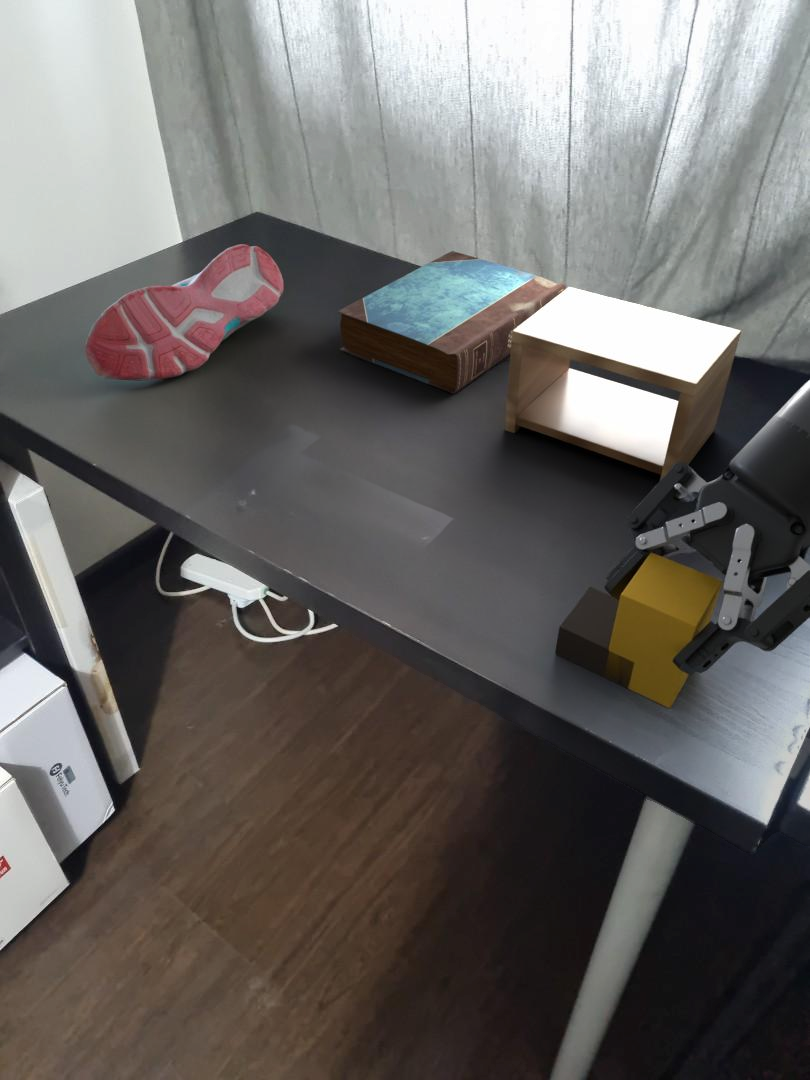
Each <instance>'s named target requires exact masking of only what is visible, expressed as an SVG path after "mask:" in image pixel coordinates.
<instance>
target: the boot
mask: <svg viewBox="0 0 810 1080" xmlns="http://www.w3.org/2000/svg"><path fill="white" fill-rule="evenodd" d="M723 582H724V581H723V579H719V578H717V577H714V576H712V575H709V574H706V573H705V572H702V571H699V570H697V569H694V568H692V567H689V566H687V565H684V564H682V563H679V562H677V561H673V560H672V559H669V558H668V557H667V558H664V557H662V556H659V555H656V554H654V553H650V555H649V556H648V557H647V559H646V560H645V562H644V563H643V564H642V566H641V567H640V569H639V570H638V571H637V573H636V574H635V576H634V577H633V578H632V580H631V581H630V583H629V584H628V585H627V587H626V588H625V590H624V591H623V592H622V594H621V596H620V601H619V600H618V599H616V598H614V597H613V596H611V595H610V594H609V593H606V592H604V591H602V590H599V589H597V588H594V587H592V586H589V587H588V588H587V590H586V591H585V592H584V594H583V595H582V596H581V598H580V599H579V600H578V602H577V603H576V604H575V605H574V607H573V608H572V609H571V611H570V612H569V613H568V615H567V616H566V618H565V619H564V620H563V621H562V623H561V624H560V625H559V627H558V633H557V640H556V647H555V651H554V654H555V655H557V656H559V657H561V658H563V659H565V660H567V661H569V662H571V663H573V664H576V665H578V666H580V667H581V668H584V669H586V670H588V671H590V672H592V673H594V674H597V675H599V676H601V677H603V678H604V679H606V680H609V681H611V682H613V683H615V684H618V685H619V686H622V687H624V688H625V689H627V690H630V691H632V692H634V693H635V694H636V693H637V694H638V695H641V696H643V697H645V698H647V699H648V700H651V701H653V702H655V703H657V704H660V705H662V706H664V707H666V708H668V709H671V708H672V706H673V705H674V703H675V701H676V699H677V698H678V696H679V694H680V693H681V690H682V689H683V687H684V685H685V683H686V682H687V680H688V678H689V676H690V674H687V673H685V672H683V671H681V670H680V669H679V668H678V667H677V666H676V665H675V664H674V663H673V659H674V657H675V656H676V655H677V654H678V653H679V652H680V651H681V650H682V649H683V648H684V647H685V646H686V645H687V644H688V643H689V642H690V641H692V639H693V638H694V637H695V636H696V635H697V634H698V633H699V632H700V631H701V630H702V629H703V628H704V627H705V626H706V625H707V624H708V623H709V622H710V621H711V619H712V616H713V613H714V610H715V607H716V604H717V602H718V599H719V596H720V592H721V589H722V587H723V584H724V583H723Z"/></svg>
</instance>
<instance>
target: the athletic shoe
mask: <svg viewBox="0 0 810 1080" xmlns="http://www.w3.org/2000/svg"><path fill="white" fill-rule="evenodd" d="M283 292H284V279H283V275H282V273H281V270H280V268H279V266H278V264H277V262H276V261H275V260H274V259H273V258H272V256H271V255H270V254H269V253H268V252H267V251H265V250H264V249H262V248H261V247H259V246H257V245H253V246H250V245H248V244H243V243H241V244H236V245H233V246H231V247H228V248H226V249H224V250H223V251H222V252H220V253H219V254H218V255H217V256H216V257H214V258H213V259H212V260H211V261H210V262H209V263H208V264H207V265H206V266H205V267H204V268H203V269H202V270H201V272H199V273H196V274H194V275H193V276H191V277H189V278H186V279H183V280H181V281H179V282H176V283H175V284H172V285H150V286H145V287H142V288H139V289H135V290H133V291H130V292H128V293H126V294H124V295H123V296H121V297H120V298H119V299H118V300H116V301H115V302H114V303H112V304H111V305H109V306H108V307H107V308H105V310H104V311H103V312H102V313H101V315H99V317H98V318H97V319H96V320H95V321H94V322H93V324H92V326H91V328H90V331H89V333H88V336H87V338H86V341H85V345H84V353H85V356H86V359H87V362H88V364H89V365H90V366H91V368H92V369H93V371H94V373H95V374H96V375H97V376H99V378H101V379H103V380H117V381H131V382H141V381H150V380H165V379H170V378H174V377H179V376H181V375H183V374H184V373H186V372H192V371H194V370H196V369H198V368H200V367H201V366H203V365H204V364H205V363H206V362H207V361H208V360H209V358H210V355H211V354H212V353H214V352H215V351H216V350H217V348H218V347H219V346H220V345H221V342H223V341H225V340H226V339H227V338H228V337H230V336H231V335H232V334H233V333H235V332H236V331H237V330H238V329H240V328H242V327H244V326H245V325H247V324H249V323H251V322H252V321H254V320H257V319H258V318H260V317H262V316H263V315H264V314H265V313H266V312H268V311H269V310H272V309H273V308H274V307H275V306H276V305H277V304H278V303H279V300H280V297H281V296H282V294H283Z"/></svg>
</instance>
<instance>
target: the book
mask: <svg viewBox="0 0 810 1080" xmlns="http://www.w3.org/2000/svg"><path fill="white" fill-rule="evenodd" d="M564 290H566V283H564V282H559V283H557V282H554V281H553V280H550V279H548V278H544V277H542V276H539V275H537V274H532V273H530V272H526V271H523V270H520V269H516V268H513V267H509V266H506V265H503V264H499V263H496V262H492V261H489V260H485V259H483V258H478V257H475V256H471V255H468V254H466V253H465V254H464V253H462V252H457V251H454V250H451V251H448V252H446V253H445V254H443V255H442V256H439V257H438V258H435V259H433V260H432V261H430V262H428V263H426V264H424V265H422V266H421V267H418V268H417V269H415V270H413V271H410V273H407V274H405V275H404V276H402V277H400V278H398V279H396V280H394V281H392V282H390V283H388V284H387V285H385V286H382V287H380V288H379V289H377V290H376V291H373V292H371V293H370V294H367V295H366V296H364V297H362V298H359V299H358V300H356V301H355V302H353V303H350V304H349V305H347V306H345V307H343V308H341V309H339V310H337V313H338V314H340V323H339V332H340V336H341V339H342V343H343V347H342V348H339V350H340V351H341V352H344V353H346V354H349V355H352V356H354V357H357V358H359V359H362V360H364V361H367V362H370V363H372V364H374V365H377V366H380V367H383V368H385V369H388V370H390V371H392V372H395V373H398V374H401V375H403V376H407V377H409V378H411V379H412V380H413V379H414V380H417V381H418V382H421V383H424V384H427V385H429V386H431V387H435V388H437V389H440V390H444V391H447V392H448V393H450V394H453V395H454V394H456V393H457V392H459V391H460V390H462V389H464V388H465V387H466V386H468V385H469V384H470V383H472V382H474V381H475V380H476V379H477V378H479V377H480V376H481V375H483V374H484V373H486V372H487V371H489V370H490V369H491V368H493V367H494V366H496V365H497V364H498V363H500V362H502V361H503V360H504V359H506V358H508V357H509V356H510V355H511V343H512V331H513V330H514V329H516V328H517V327H518V326H519V325H521V324H522V323H523V322H525V321H526V320H527V319H528V318H530V317H531V316H532V315H534V314H535V313H536V312H537V311H539V310H540V309H541V308H543V307H544V306H545V305H546V304H548V303H549V302H550V301H552V300H553V299H554V298H555V297H557V296H558V295H559V294H560V293H562V292H563V291H564Z"/></svg>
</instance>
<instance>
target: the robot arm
mask: <svg viewBox="0 0 810 1080" xmlns="http://www.w3.org/2000/svg"><path fill="white" fill-rule="evenodd" d="M695 499H696V502H695V508H694V512H691V513H687V514H686V515H683V516H679V517H677V518H674V519H671V518H673V517H674V515H675V514H676V513H677V512H678V511H679V510H680V509H681V507H683V505H685V503H687V504H688V503H690V502H694V501H695ZM626 526H627V527H629V529H631V532H632V534H633V537H634V545H633V547H632V548H631V549H630V550H629V551H628V552H627V553H626V555H624V556H623V557H622V558H621V560H619V562H618V563H617V564H615V566H614V567H613V568H612V569H611V570H610V571H609V572H608V574H607V576H606V580H607V582H606V583H605V584H604V587H603V588H604V590H605V591H606V592H607V594H609V595H611V596H613V597H614V598H616V599H618V600H619V601H620V596H621V594H622V592H623V591H624V590H625V588H626V587H627V585H628V584H629V583H630V581H631V580H632V578H633V577H634V576H635V574H636V573H637V571H638V570H639V569H640V567H641V566H642V564H643V563H644V562H645V560H646V559H647V557H648V556H649V555H650V553H654V554H656V555H659V556H662V557H664V558H667V559H668V558H670V557H673V556H675V555H679V554H692V553H696V552H697V553H699V554H700V555H701V556H703V557H704V558H705V559H706V560H708V561H709V562H711V565H713V567H714V568H716V570H717V571H718V572H720V573H721V574H722V575H724V576H725V578H724V581H723V582H724V583H723V585H722V587H723V588H722V589H723V599H722V604H721V606H720V611H719V615H718V618H717V622H716V623H715V622H713V621H711V620H710V622H709V623H708V624H707V625H706V626H705V627H704V628H703V629H702V630H701V631H700V632H699V633H698V634H697V635H696V636H695V637H694V638H693V639H692V641H690V642H689V643H688V644H687V645H686V646H685V647H684V648H683V649H682V650H681V651H680V652H679V653H678V654H677V655H676V656H675V657H674V659H673V663H674V664H675V665H676V666H677V667H678V668H679V669H680V670H681V671H683V672H685V673H687V674H689V675H692V674H694V673H695V672H697V673H698V674H702V673H704V672H707V671H708V670H709V669H711V667H712V666H714V665H715V663H717V662H718V661H719V660H720V659H721V658H722V657H723V656H724V655H725V654H726V653H727V652H728V651H729V650H730V649H731V648H732V647H733V646H735V644H738V643H743V642H745V643H747V644H750V645H752V646H755V647H757V648H759V649H760V650H762V651H763V652H773V651H774V650H775V649H776V648H777V647H778V646H779V645H781V644H782V643H783V642H784V641H785V640H786V639H787V638H788V637H790V636H792V634H793V633H794V632H795V631H797V629H799V627H800V626H802V625H803V624H804V623H805V622H807V620H808V619H810V564H809V562H807V561H806V560H805V559H806V555H807V553H808V550H809V549H810V379H809V380H807V381H806V382H805V383H804V384H803V385H802V386H801V387H800V388H799V389H798V390H797V391H796V392H794V394H793V395H792V396H791V397H790V398H789V399H788V400H787V401H786V402H785V403H784V405H782V407H781V408H780V409H779V410H777V412H776V413H775V414H773V416H772V417H771V418H770V419H769V420H768V421H767V422H766V423H765V425H763V426H762V427H761V429H760V430H759V431H758V432H756V434H755V435H754V436H753V437H752V438H750V440H749V441H748V442H747V443H746V444H745V445H744V446H743V448H741V449H740V451H739V452H737V454H736V455H734V457H733V458H732V459H731V460H730V461H729V464H728V465H727V467H726V469H725V470H724V472H723V473H722V474H721V475H720V476H718V477H717V478H715V479H714V480H711V481H708V482H707V481H706V480H705V479H703V478H702V477H701V476H700V475H699V474H698V473H697V472H696V471H695V470H694V469H693V468H692V467H691V466H689V465H687V464H686V463H685V462H678V463H676V464H675V465H674V466H673V467H672V468H671V469H670V470H669V471H668V473H667V474H666V475H665V476H664V477H663V478H662V479H661V480H660V479H659V481H658V483H657V484H656V485H655V486H654V487H653V488H652V489H651V490H650V491H649V493H648V494H647V495H646V496H645V497H644V498H643V499H642V501H641V502H639V504H638V505H636V507H635V508H634V510H633V511H632V512H631V513H630V514H629V515H628V516H627V518H626ZM788 573H790V576H789V578H788V579H787V580H786V582H785V589H786V590H785V591H784V592H783V593H782V594H781V595H780V596H779V597H778V598H776V599H775V600H774V601H773V602H772V603H771V604H770V605H769V606H768V607H767V608H766V609H765V610H763V611H762V612H761V613H760V614H759V615H758V616H757V617H756V618H755V616H756V612H757V609H758V608H760V606H761V604H762V601H763V598H764V592H765V589H766V585H767V581H768V578H770V577H773V576H779V575H783V574H788Z"/></svg>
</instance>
